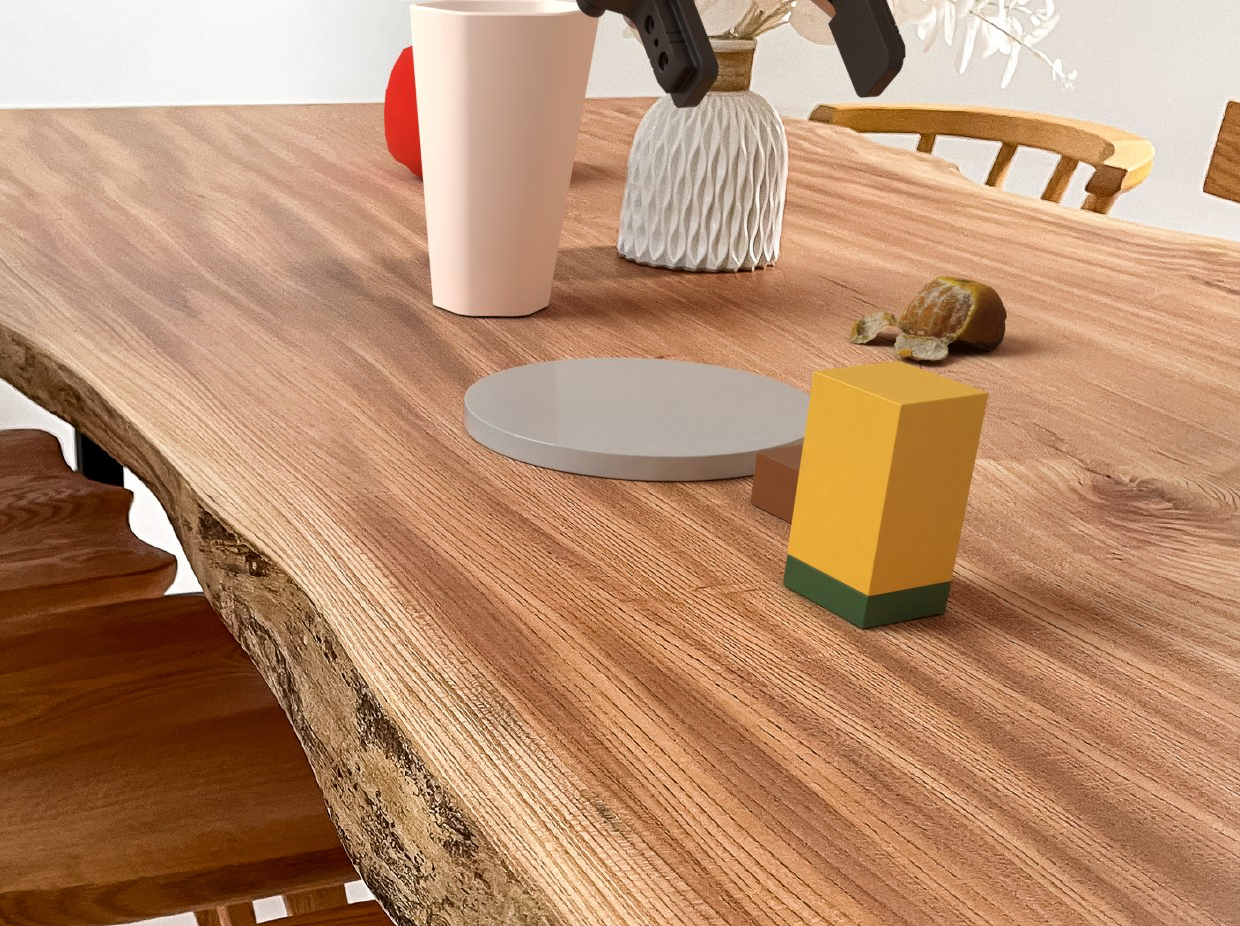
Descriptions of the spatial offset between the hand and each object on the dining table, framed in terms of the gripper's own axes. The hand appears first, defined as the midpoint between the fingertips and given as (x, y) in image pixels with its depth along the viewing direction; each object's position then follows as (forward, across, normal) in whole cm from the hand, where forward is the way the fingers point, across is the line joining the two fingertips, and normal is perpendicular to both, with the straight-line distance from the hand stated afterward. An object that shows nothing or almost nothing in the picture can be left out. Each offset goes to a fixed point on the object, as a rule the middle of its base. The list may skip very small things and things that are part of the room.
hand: (793, 88), depth 67 cm
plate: (+2, +5, +23) cm, 24 cm away
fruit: (-4, +29, +29) cm, 41 cm away
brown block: (+12, +5, +13) cm, 18 cm away
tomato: (-48, +32, +73) cm, 94 cm away
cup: (-17, +11, +42) cm, 47 cm away
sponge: (+18, 0, +6) cm, 19 cm away
